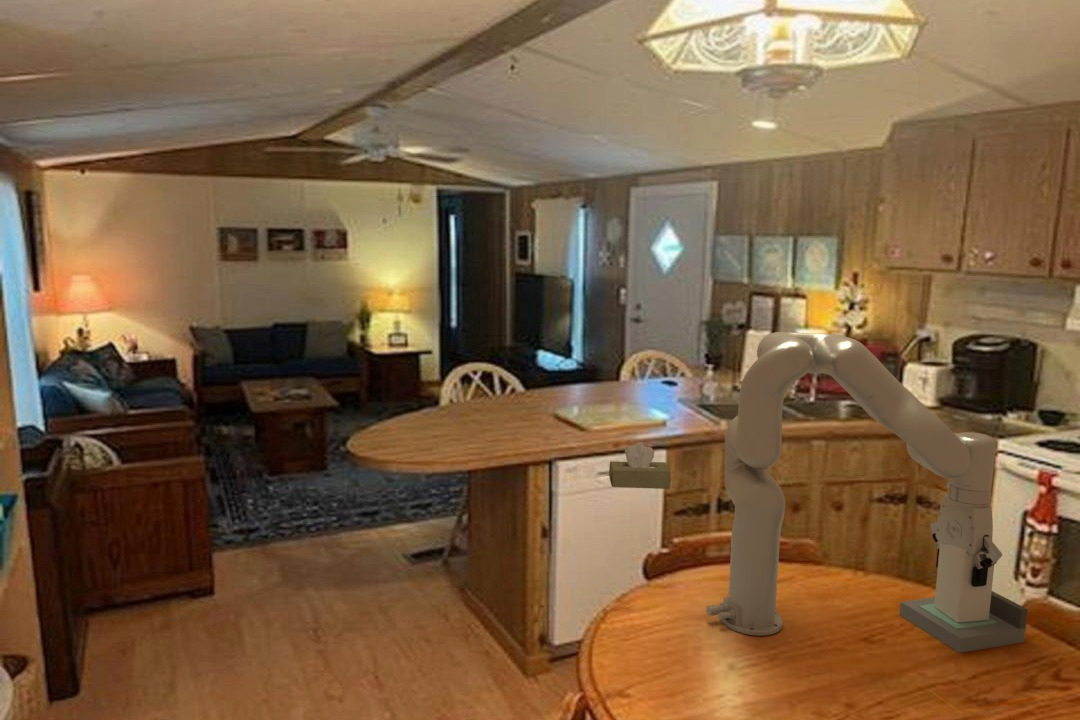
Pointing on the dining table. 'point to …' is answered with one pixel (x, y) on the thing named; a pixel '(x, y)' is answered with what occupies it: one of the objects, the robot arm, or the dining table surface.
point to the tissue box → (640, 470)
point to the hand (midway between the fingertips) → (960, 576)
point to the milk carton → (961, 586)
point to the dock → (970, 624)
